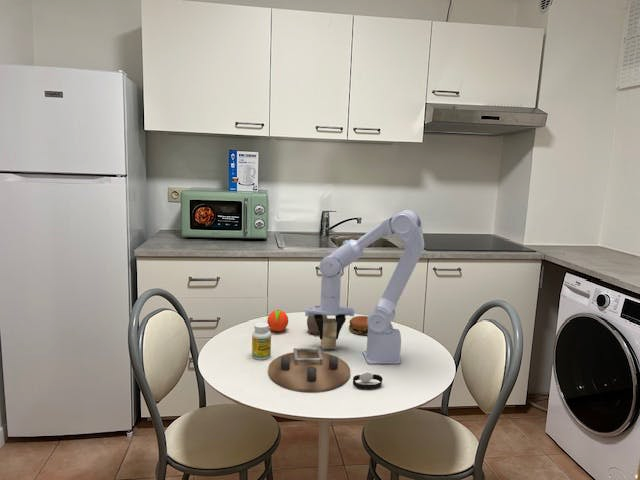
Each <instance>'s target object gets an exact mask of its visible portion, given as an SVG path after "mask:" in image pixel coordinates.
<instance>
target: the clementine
mask: <svg viewBox="0 0 640 480" xmlns="http://www.w3.org/2000/svg"><path fill="white" fill-rule="evenodd" d="M266 321H267V322H266V323H267V324H268V325H269V329H270V330H272V331H273V332H282V331H284V330H285V329H286V328H287V327H288V325H289V317H288V315H287V313H286V312H284V311H283V310H280V309H276V310H273V311H272V312H270V313H269V315H268V317H267V320H266Z"/></svg>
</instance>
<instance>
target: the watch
mask: <svg viewBox="0 0 640 480" xmlns="http://www.w3.org/2000/svg"><path fill="white" fill-rule="evenodd" d="M372 380H375V381H378V383H376V384H375V383H373V384H367V383H368V382H370V381H372ZM357 381H361V382H362V383H366V384H362V383H358V382H357ZM382 384H383V377H382V376H381V375H380V374H374V373H372V372H370V371H363V372H362V373H361V374H357V375H354V376H353V377H352V385H353V387H354V388H356V389H359V390H366V391H367V390H375V389H379V388H380V387H381V386H382Z"/></svg>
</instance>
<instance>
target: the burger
mask: <svg viewBox="0 0 640 480" xmlns="http://www.w3.org/2000/svg"><path fill="white" fill-rule="evenodd" d="M368 316H369V315H368ZM368 316H367V315H366V316H365V315H357V316H352V318H350V319H349V326H348V330H349V332H350V333H352V334H355V335H362V336H368V325H367V317H368Z"/></svg>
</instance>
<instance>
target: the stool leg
mask: <svg viewBox="0 0 640 480" xmlns="http://www.w3.org/2000/svg"><path fill="white" fill-rule="evenodd" d="M322 331H323V338H322V340H320V345H321V349H326V350H327V349H330V350H331V349H335V350H336V348H337V339H336V331H337V322H336V320H335V318H333V317H331V318H328V317H327V318H323V329H322Z"/></svg>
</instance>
